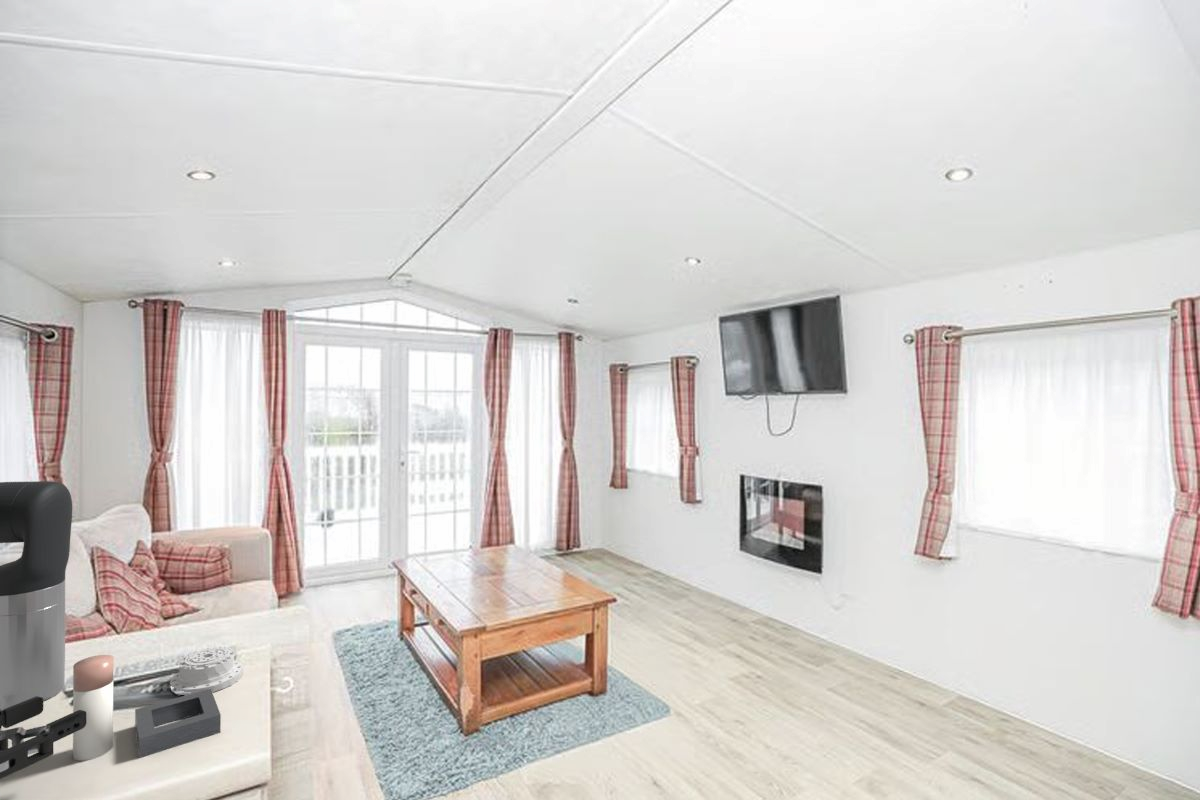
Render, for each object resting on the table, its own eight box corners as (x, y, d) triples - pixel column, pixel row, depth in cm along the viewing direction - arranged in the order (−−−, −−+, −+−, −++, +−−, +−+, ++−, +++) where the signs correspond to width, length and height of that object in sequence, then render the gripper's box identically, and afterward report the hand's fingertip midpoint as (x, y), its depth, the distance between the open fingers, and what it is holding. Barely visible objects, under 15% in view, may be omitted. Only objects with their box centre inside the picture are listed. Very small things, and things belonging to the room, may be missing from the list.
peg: (73, 749, 77) (73, 660, 77) (112, 738, 80) (113, 651, 80) (72, 764, 74) (72, 672, 74) (113, 752, 77) (113, 662, 77)
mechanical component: (153, 693, 92) (207, 701, 90) (153, 666, 92) (207, 673, 90) (207, 664, 102) (256, 671, 100) (207, 639, 102) (257, 645, 100)
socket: (135, 726, 83) (135, 709, 83) (210, 704, 89) (210, 688, 89) (138, 757, 76) (139, 738, 76) (220, 732, 82) (220, 714, 82)
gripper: (-92, 774, 56) (100, 692, 71) (-168, 741, 61) (27, 671, 76) (-91, 850, 56) (100, 752, 72) (-167, 812, 61) (27, 727, 76)
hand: (62, 710), depth 74 cm, fingers open, 8 cm apart
